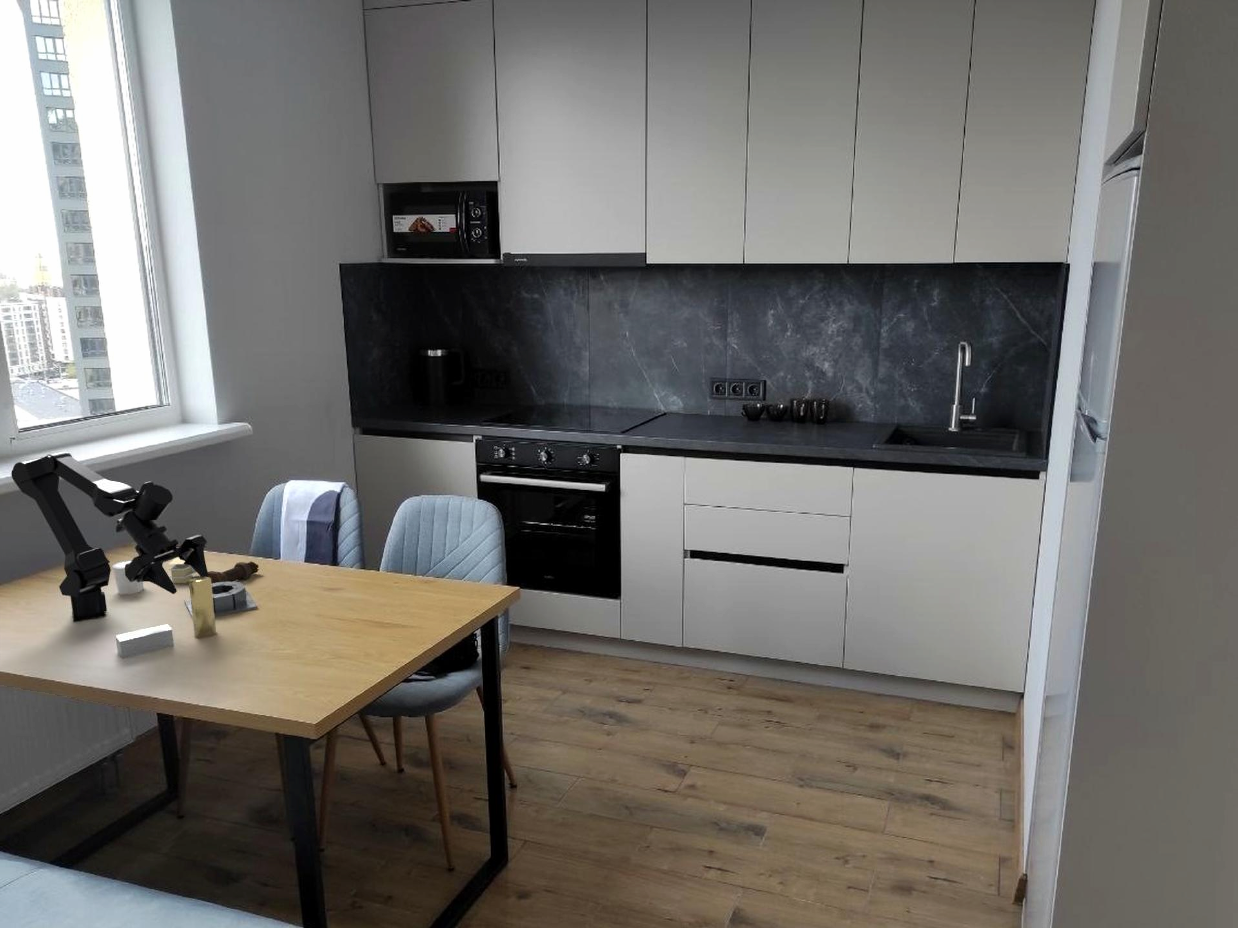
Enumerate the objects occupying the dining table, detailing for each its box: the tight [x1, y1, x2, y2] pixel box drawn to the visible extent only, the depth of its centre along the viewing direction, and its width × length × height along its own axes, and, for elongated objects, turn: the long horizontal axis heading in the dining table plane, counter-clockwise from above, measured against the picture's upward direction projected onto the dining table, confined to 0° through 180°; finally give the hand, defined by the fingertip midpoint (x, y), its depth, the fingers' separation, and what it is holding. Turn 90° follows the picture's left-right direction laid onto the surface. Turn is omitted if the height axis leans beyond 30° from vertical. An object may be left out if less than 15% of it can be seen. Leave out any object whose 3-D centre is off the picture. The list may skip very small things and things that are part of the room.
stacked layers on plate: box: [168, 557, 198, 584], centre depth 241 cm, size 10×9×6 cm
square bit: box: [115, 623, 175, 659], centre depth 196 cm, size 10×4×4 cm, turn 129°
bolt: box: [208, 561, 260, 584], centre depth 238 cm, size 6×5×15 cm
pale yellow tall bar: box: [188, 576, 217, 639], centre depth 203 cm, size 4×4×12 cm
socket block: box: [184, 581, 258, 620], centre depth 221 cm, size 14×14×4 cm
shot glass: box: [112, 559, 144, 595], centre depth 232 cm, size 7×7×7 cm
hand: (191, 585), depth 203 cm, fingers open, 9 cm apart
